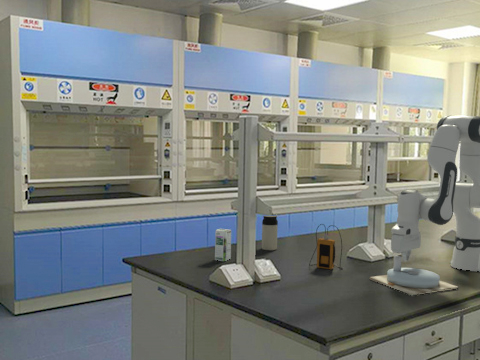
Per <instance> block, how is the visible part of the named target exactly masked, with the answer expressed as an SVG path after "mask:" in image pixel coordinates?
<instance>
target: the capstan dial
mask: <svg viewBox="0 0 480 360" xmlns="http://www.w3.org/2000/svg"><path fill="white" fill-rule="evenodd" d="M392 267H393V268H389V269H388V270H387V272H386V275H387V280H388V281H390V282H392V283H394V284H397V285H401V286H405V287H412V288H433V287H436V286H438V285H439V281H441V279H440V278H441V277H440V274H437V273H436V272H433V271H431V270H426V269H422V268H414V267H402V255H393V266H392Z"/></svg>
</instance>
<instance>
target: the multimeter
mask: <svg viewBox="0 0 480 360" xmlns="http://www.w3.org/2000/svg"><path fill="white" fill-rule="evenodd" d="M321 225H322V226H324V237H323V238H322V237H320V238H317V232H318V228H319V227H320V226H321ZM330 227H335V228H336V229H337V231H338V233H339V236H340V244H341V246H343V241H342V240H343V239H342V235H341V232H340V229H339V228H338V227H337V226H336V225H333V224H331V225H329V226H328V227H327V228H326V225H325V224H324V223H321V224H319V225H318V226H317V228H316V231H315V240H316V246H315V247H316V248H315V250H314V251H313V253H312V256H311V259H310V261H309V264H308V266H309V267H311V266H316V267H317V268H319V269H320V268H321V269H326V270H327V269H328V270H333V269H334V268H335V267H334V266H336V267H337V268H338V269H341V270H343V267H342V266H341V265H338V264H337V263H335V260H336V245H335V244H336V241H335V239H329V228H330ZM326 230H327V231H326ZM315 252H316V263H315V264H311V262H312V259H313V257H314V254H315ZM342 255H343V248H341V251H340V256H342ZM341 261H342V257H340V260H339V264H341V263H342V262H341Z"/></svg>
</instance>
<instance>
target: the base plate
mask: <svg viewBox="0 0 480 360" xmlns="http://www.w3.org/2000/svg"><path fill="white" fill-rule="evenodd" d="M369 280H371V281H373V282H376V283H377V282H378V284H380V285H382V284H383V285H382V286H385V285H386V286H385V287H387V286H389V287H388V288H390V287H391V289H392V288H394V289H393V290H395V289H397V290H400V291H403V292H406V293H409V294H412V295H413V294H419V293H426V292H432V291H439V290H445V289H451V288H458V289H459V286H457V285H454V284H451V283H449V282H446V281H442V280H440V281H439V285H438V286H436V287H433V288H412V287H405V286H401V285H397V284H394V283H392V282H390V281H388V280H387V274H383V275H376V276H370V277H369ZM397 290H396V291H397ZM400 291H399V292H400Z"/></svg>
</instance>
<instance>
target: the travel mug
mask: <svg viewBox="0 0 480 360" xmlns="http://www.w3.org/2000/svg"><path fill="white" fill-rule="evenodd" d="M277 218H278V215H277V216H263V219H262V221H261V227H262V228H261V249H262V250H263V251H268V252H269V251H276V250H277V249H278V228H279V227H278V219H277Z"/></svg>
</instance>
